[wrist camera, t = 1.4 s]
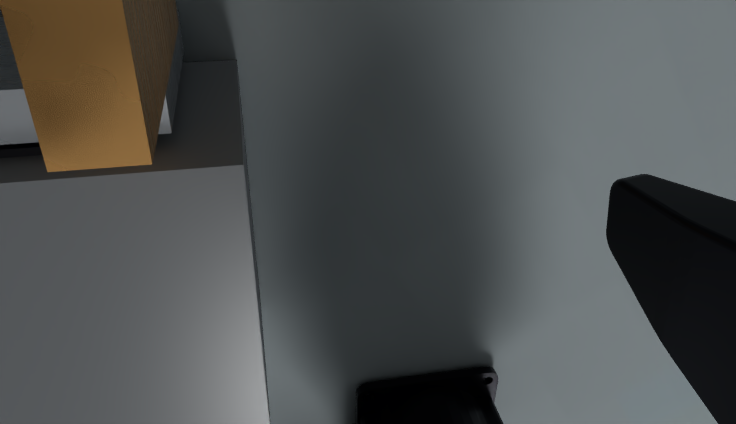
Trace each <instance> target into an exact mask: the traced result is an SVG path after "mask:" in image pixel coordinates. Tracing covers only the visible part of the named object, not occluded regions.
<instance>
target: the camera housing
mask: <svg viewBox="0 0 736 424" xmlns="http://www.w3.org/2000/svg"><path fill="white" fill-rule="evenodd" d="M0 424H270V413H269V400H268V388H267V376H266V363H265V351H264V338H263V326H262V314H261V302H260V292H259V282H258V272H257V261H256V251H255V241H254V231H253V220H252V210H251V200H250V190H249V180H248V169H247V159H246V149H245V139H244V128H243V118H242V108H241V98H240V87H239V77H238V67H237V60H225V61H205V62H185V63H182V67H181V74H180V81H179V88H178V94H177V101H176V108H175V114H174V121H173V128H172V133H169V134H158V137H157V142H156V148H155V153H154V158H153V163H152V164H151V165H138V166H124V167H111V168H97V169H84V170H71V171H57V172H47V169H46V165H45V162H44V158H43V155H42V151H41V148H40V144H39V142H35V143H20V144H5V145H0Z"/></svg>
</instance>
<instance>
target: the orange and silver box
mask: <svg viewBox="0 0 736 424" xmlns="http://www.w3.org/2000/svg"><path fill="white" fill-rule="evenodd" d="M0 8H1V11H2V15H3V16H0V145H5V144H20V143H35V142H39V144H40V148H41V151H42V155H43V158H44V162H45V165H46V169H47V172H57V171H71V170H84V169H97V168H111V167H124V166H138V165H151V164H152V163H153V158H154V153H155V148H156V142H157V137H158V134H169V133H172V128H173V121H174V114H175V108H176V101H177V94H178V88H179V81H180V74H181V67H182V61H183V54H184V47H183V40H182V33H181V26H180V18H179V11H178V9H176V2H175V0H0Z"/></svg>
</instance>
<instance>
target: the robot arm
mask: <svg viewBox="0 0 736 424" xmlns="http://www.w3.org/2000/svg"><path fill="white" fill-rule="evenodd" d="M606 236H607V242H608V245H609V248H610V250H611V252H612V254H613V256H614V258H615V259H616V261H617V263H618V265H619V267H620V269H621V270H622V272H623V274H624V276H625V278H626V280H627V281H628V283H629V285H630V287H631V289H632V290H633V292H634V294H635V296H636V298H637V300H638V301H639V303H640V305H641V307H642V309H643V311H644V312H645V314H646V316H647V318H648V320H649V322H650V323H651V325H652V327H653V329H654V330H655V332H656V334H657V336H658V337H659V339H660V341H661V342H662V344H663V345H664V347H665V348H666V350H667V351H668V353H669V354H670V356H671V357H672V359H673V360H674V362H675V363H676V364H677V366H678V367H679V369H680V370H681V372H682V373H683V374H684V376H685V377H686V379H687V380H688V381H689V383H690V384H691V386H692V387H693V389H694V390H695V391H696V393H697V394H698V396H699V397H700V399H701V400H702V401H703V403H704V404H705V406H706V407H707V408H708V410H709V411H710V413H711V414H712V416H713V417H714V418H715V420H716V421H717V423H718V424H736V201H733V200H729V199H726V198H723V197H720V196H716V195H713V194H710V193H707V192H704V191H700V190H697V189H694V188H691V187H687V186H684V185H681V184H678V183H674V182H671V181H668V180H665V179H661V178H658V177H655V176H652V175H648V174H640V175H635V176H631V177H626V178H622V179H618V180H616V181H615V182H614V183H613V185H612V187H611V190H610V197H609V208H608V218H607V228H606ZM486 377H487V378H486ZM497 384H498V376H497V374H496V371H495V370H494V368H492V367H479V368H472V369H464V370H457V371H450V372H442V373H435V374H428V375H420V376H413V377H406V378H399V379H391V380H384V381H377V382H369V383H365V384H362V385H360V386H359V387H358V388H357V390H356V423H354V424H503V422H502V420H501V418H500V415H499V413H498V411H497V409H496V407H495V404H494V401H495V395H496V389H497ZM366 394H368V395H366Z"/></svg>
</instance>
